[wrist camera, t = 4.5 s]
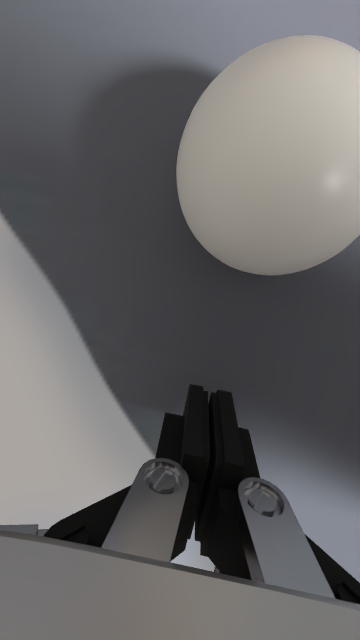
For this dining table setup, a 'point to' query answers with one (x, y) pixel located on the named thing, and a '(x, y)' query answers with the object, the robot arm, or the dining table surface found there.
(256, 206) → the white ball
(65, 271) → the dining table surface
